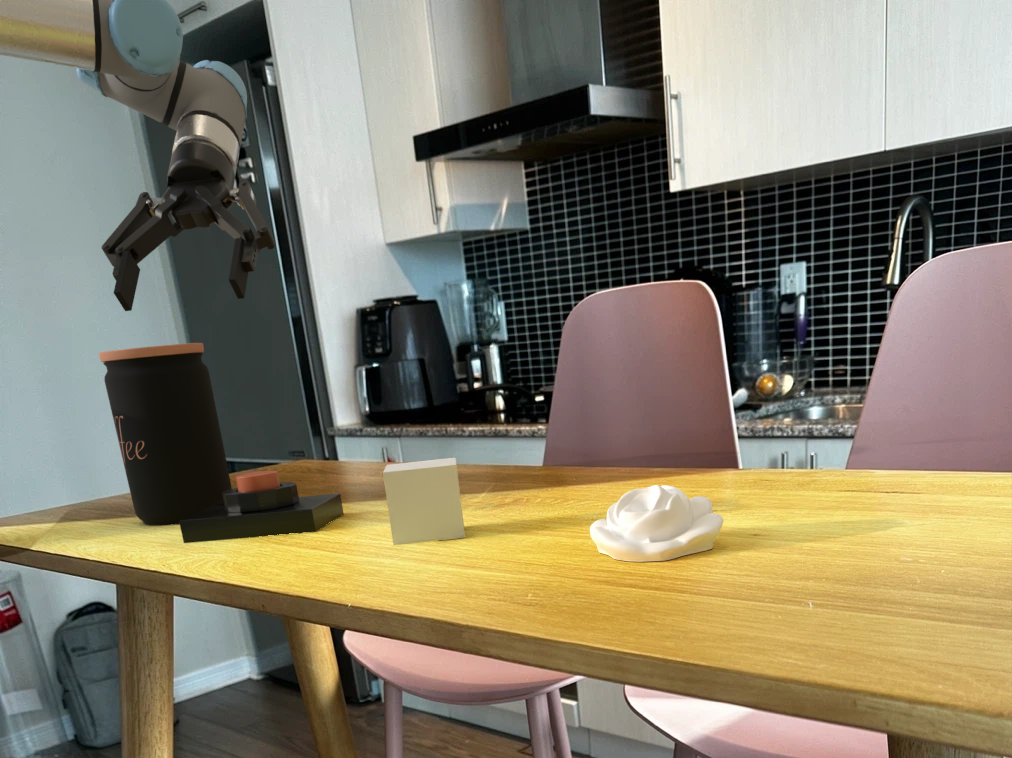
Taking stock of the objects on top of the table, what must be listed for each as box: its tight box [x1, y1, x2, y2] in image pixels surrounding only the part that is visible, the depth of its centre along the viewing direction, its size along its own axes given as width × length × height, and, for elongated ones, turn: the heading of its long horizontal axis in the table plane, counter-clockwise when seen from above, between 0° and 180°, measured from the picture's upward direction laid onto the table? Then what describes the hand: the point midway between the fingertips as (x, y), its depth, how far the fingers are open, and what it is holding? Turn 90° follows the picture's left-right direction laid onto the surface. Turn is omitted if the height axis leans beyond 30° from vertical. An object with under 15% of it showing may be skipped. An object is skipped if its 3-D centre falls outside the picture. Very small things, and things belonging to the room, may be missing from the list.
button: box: [235, 470, 280, 492], centre depth 100 cm, size 4×4×2 cm
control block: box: [179, 481, 344, 544], centre depth 101 cm, size 13×10×4 cm
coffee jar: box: [98, 342, 233, 527], centre depth 112 cm, size 11×11×18 cm
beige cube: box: [382, 457, 466, 546], centre depth 87 cm, size 6×6×6 cm
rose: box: [589, 484, 724, 563], centre depth 73 cm, size 10×4×10 cm
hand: (179, 295), depth 116 cm, fingers open, 13 cm apart
